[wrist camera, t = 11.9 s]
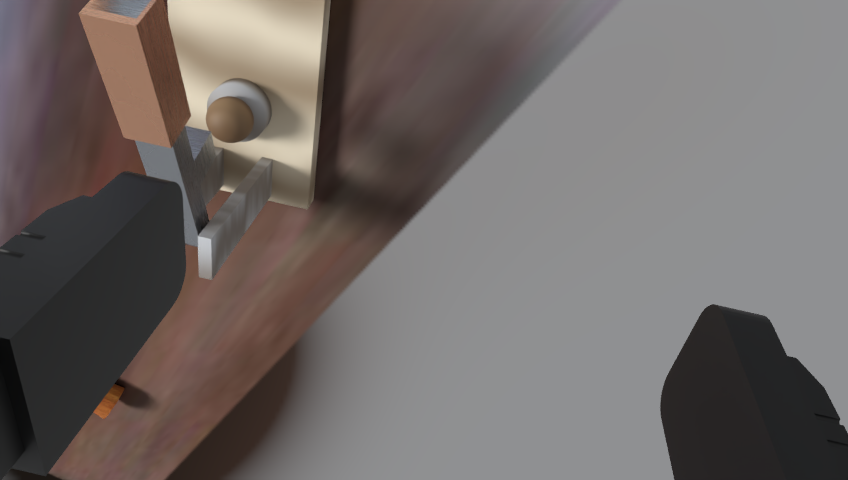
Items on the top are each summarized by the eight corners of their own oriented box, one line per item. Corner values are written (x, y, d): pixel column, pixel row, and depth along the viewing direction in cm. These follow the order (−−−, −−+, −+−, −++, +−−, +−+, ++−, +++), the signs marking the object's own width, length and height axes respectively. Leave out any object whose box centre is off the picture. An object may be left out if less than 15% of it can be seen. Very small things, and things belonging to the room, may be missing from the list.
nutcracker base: (173, -127, 38) (44, -108, 28) (338, -91, 38) (268, -60, 28) (185, 170, 49) (97, 260, 39) (313, 199, 49) (257, 296, 39)
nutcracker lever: (231, 206, 42) (205, 260, 39) (192, 198, 42) (163, 250, 39) (183, -31, 28) (138, 26, 26) (126, -43, 29) (76, 13, 26)
